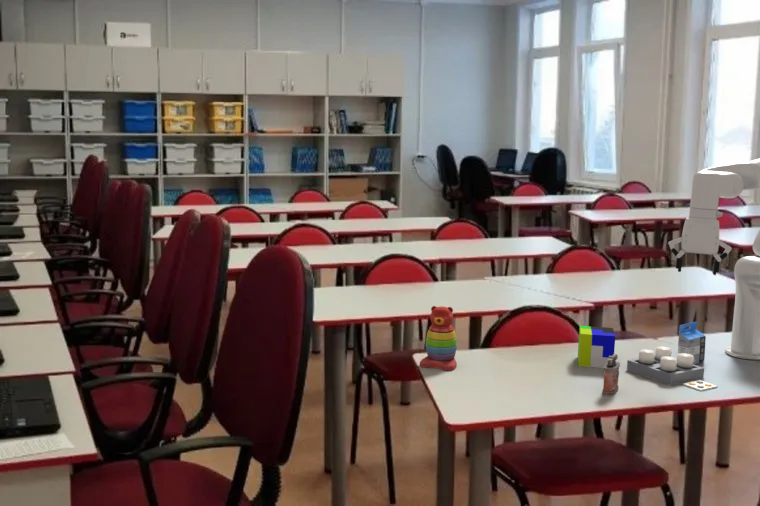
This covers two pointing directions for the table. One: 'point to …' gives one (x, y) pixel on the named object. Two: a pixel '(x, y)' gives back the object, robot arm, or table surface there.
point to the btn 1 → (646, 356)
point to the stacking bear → (441, 340)
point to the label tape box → (692, 342)
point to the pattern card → (700, 385)
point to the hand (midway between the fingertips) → (696, 272)
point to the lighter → (611, 376)
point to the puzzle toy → (595, 345)
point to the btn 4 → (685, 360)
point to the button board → (665, 372)
